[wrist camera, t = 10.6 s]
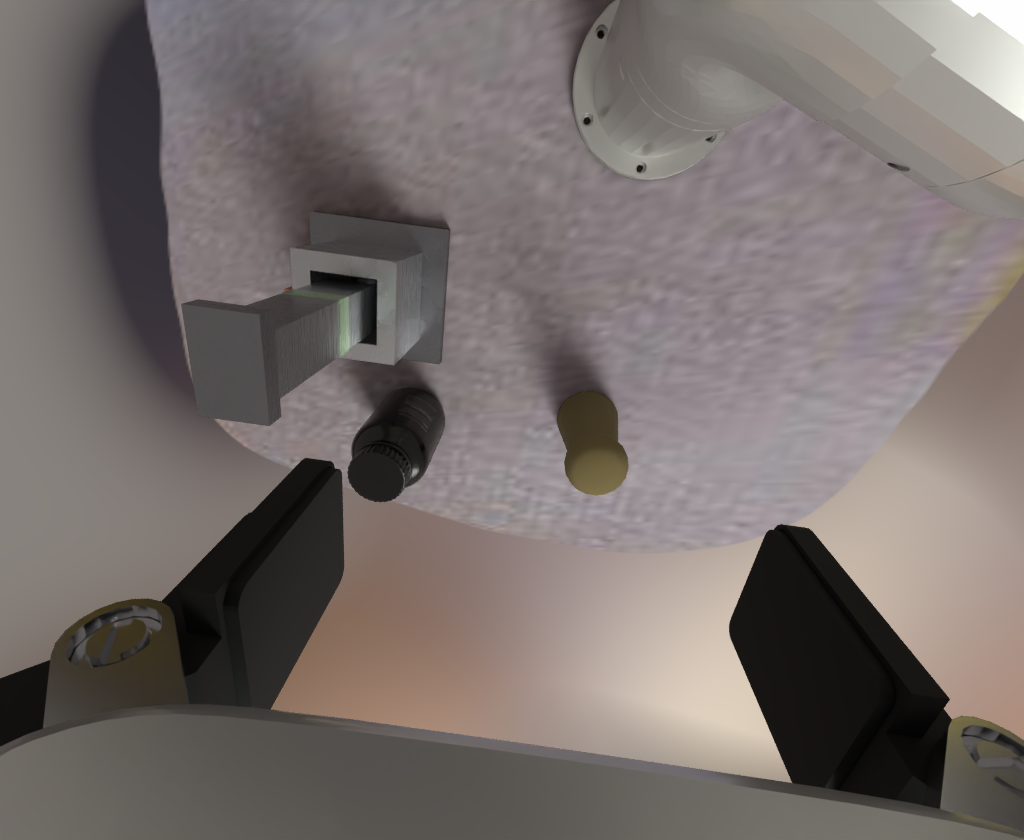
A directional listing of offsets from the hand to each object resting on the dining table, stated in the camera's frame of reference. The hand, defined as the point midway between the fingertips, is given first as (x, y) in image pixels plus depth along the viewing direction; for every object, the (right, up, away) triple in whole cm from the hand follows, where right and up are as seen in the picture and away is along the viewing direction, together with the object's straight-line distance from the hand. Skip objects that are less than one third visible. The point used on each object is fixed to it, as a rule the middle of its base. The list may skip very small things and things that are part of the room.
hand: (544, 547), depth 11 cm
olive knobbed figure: (+7, +3, +38) cm, 39 cm away
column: (-13, +12, +28) cm, 33 cm away
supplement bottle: (-11, +3, +39) cm, 41 cm away
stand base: (-13, +15, +34) cm, 39 cm away
